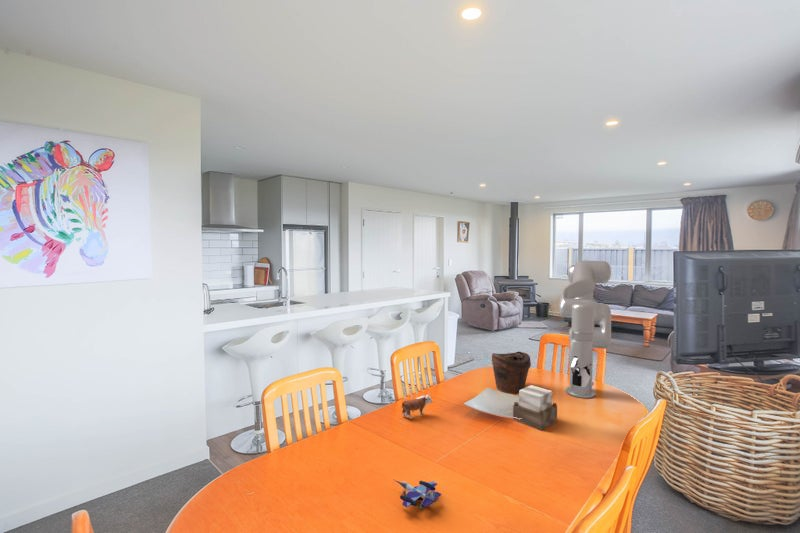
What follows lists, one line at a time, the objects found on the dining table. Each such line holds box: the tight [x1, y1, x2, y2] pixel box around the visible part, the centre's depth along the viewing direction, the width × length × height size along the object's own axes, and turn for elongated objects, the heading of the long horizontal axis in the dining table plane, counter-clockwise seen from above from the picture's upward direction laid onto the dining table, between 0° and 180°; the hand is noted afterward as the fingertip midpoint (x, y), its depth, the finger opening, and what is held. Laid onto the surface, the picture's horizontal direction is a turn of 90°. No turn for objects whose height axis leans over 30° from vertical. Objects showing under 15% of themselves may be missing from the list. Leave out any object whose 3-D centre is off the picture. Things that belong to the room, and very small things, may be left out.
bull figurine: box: [401, 394, 434, 420], centre depth 162 cm, size 4×13×8 cm, turn 112°
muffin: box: [576, 368, 590, 387], centre depth 150 cm, size 6×6×7 cm
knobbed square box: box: [512, 384, 558, 431], centre depth 157 cm, size 12×12×12 cm
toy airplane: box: [394, 479, 442, 510], centre depth 109 cm, size 13×14×4 cm
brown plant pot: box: [491, 351, 532, 394], centre depth 192 cm, size 18×20×18 cm
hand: (581, 382), depth 150 cm, fingers closed on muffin, 6 cm apart
